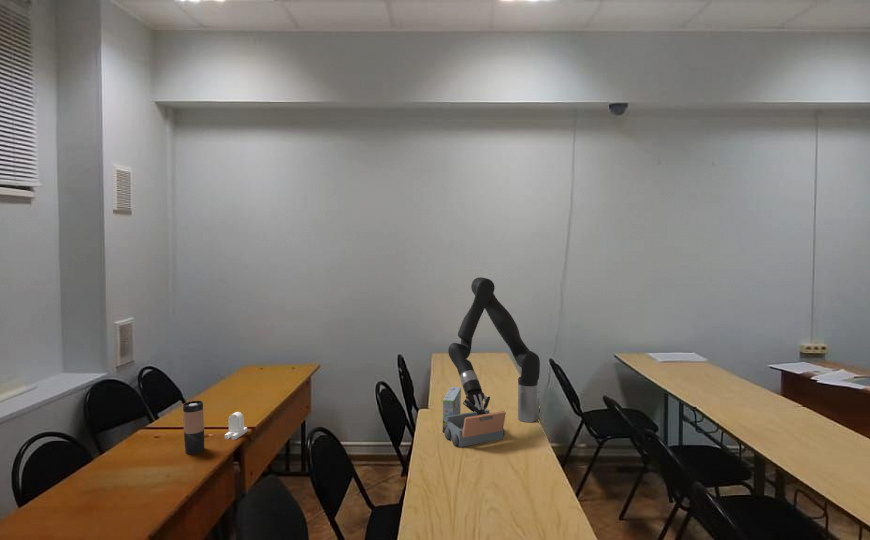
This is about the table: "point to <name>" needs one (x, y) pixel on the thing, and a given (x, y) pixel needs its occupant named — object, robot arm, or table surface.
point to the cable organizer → (236, 426)
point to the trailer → (456, 429)
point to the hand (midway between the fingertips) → (483, 419)
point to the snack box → (451, 404)
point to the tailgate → (483, 424)
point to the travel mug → (193, 427)
